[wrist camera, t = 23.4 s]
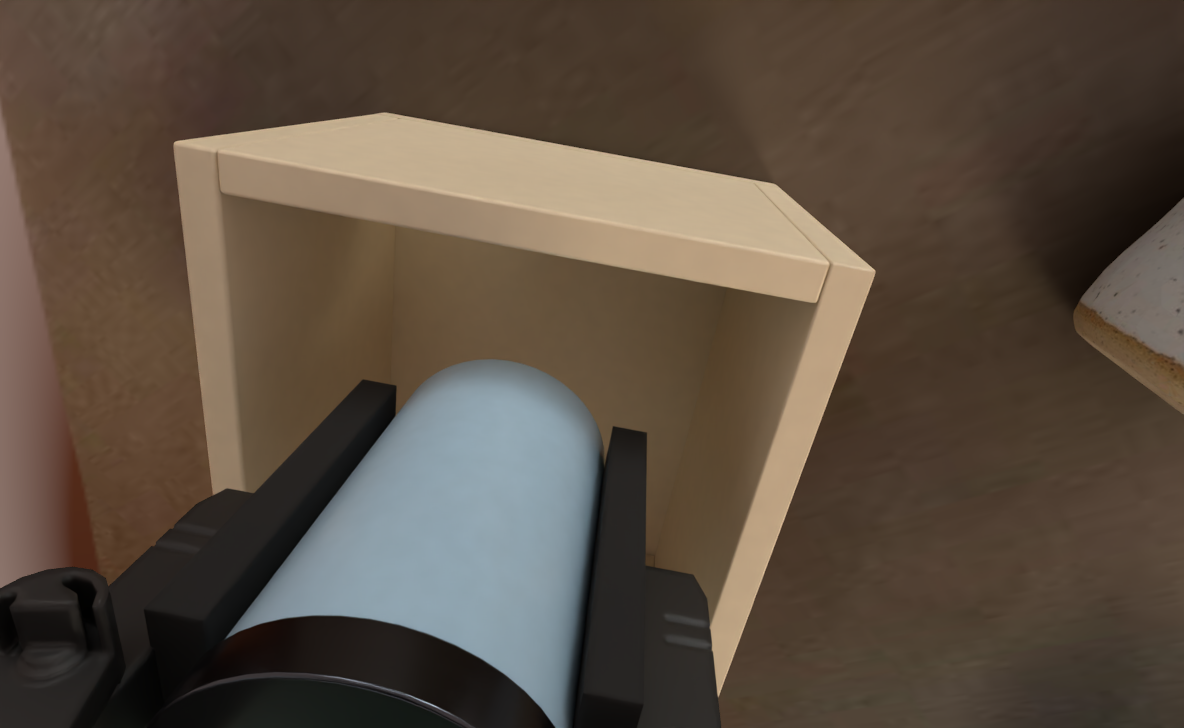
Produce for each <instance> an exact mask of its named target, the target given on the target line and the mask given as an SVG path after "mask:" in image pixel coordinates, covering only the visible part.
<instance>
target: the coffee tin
mask: <svg viewBox="0 0 1184 728" xmlns="http://www.w3.org/2000/svg"><path fill="white" fill-rule="evenodd" d="M604 466H605V452H604V445H603V441H602V436H601V433H600V431H599V428H598V426H597V423H596V421H595V420H594V418H593V416H592V414H591V413H590V411H589V410H588V408H587V407H586V406H585V404H584V403H583V402H582V401H581V400H580V398H579V397H578V396H577V395H576V394H575V393H574V392H573V391H572V390H570V389H569V388H568V387H567V386H565V385H564V384H563V383H562V382H560V381H559V380H557V379H556V378H554V377H552V376H551V375H549V374H547V373H545V372H543V371H541V370H539V369H536V368H534V367H531V366H528V365H525V364H522V363H517V362H513V361H508V360H497V359H483V360H473V361H467V362H462V363H459V364H456V365H452V366H450V367H447V368H445V369H443V370H441V371H439V372H437V373H436V374H434V375H433V376H431V377H429V378H428V379H427V380H426V381H424V382H423V383H422V384H421V385H420V386H419V387H418V388H417V389H416V390H415V392H414V393H413V394H412V395H411V396H410V398H409V399H408V400H407V402H406V403H405V404H404V406H403V407H402V408H401V409H400V411H399V412H398V413H397V415H396V416H395V417H394V419H393V420H392V421H391V423H390V424H389V425H388V426H387V428H386V429H385V430H384V432H383V433H382V434H381V436H380V437H379V438H378V440H377V441H376V442H375V443H374V445H373V446H372V447H371V449H370V450H369V451H368V453H367V454H366V455H365V457H364V458H363V459H362V460H361V462H360V463H359V464H358V466H357V467H356V468H355V470H354V471H353V472H352V473H351V475H350V476H349V477H348V479H347V480H346V481H345V483H344V484H343V485H342V487H341V488H340V489H339V490H338V492H337V493H336V494H335V496H334V497H333V498H332V500H331V501H330V502H329V504H328V505H327V506H326V507H325V509H324V510H323V511H322V513H321V514H320V515H319V517H318V518H317V519H316V521H315V522H314V523H313V524H312V526H311V527H310V528H309V530H308V531H307V532H306V534H305V535H304V536H303V538H302V539H301V540H300V541H299V543H298V544H297V545H296V547H295V548H294V549H293V551H292V552H291V553H290V555H289V556H288V557H287V558H286V560H285V561H284V562H283V564H282V565H281V566H280V568H279V569H278V570H277V571H276V573H275V574H274V575H273V577H272V578H271V579H270V581H269V582H268V583H267V585H266V586H265V587H264V588H263V590H262V591H261V592H260V594H259V595H258V596H257V598H256V599H255V600H254V602H253V603H252V604H251V605H250V607H249V608H248V609H247V611H246V612H245V613H244V615H243V616H242V617H241V619H240V620H239V621H238V622H237V624H236V625H235V626H234V628H233V629H232V630H231V632H230V633H229V634H228V636H227V637H226V638H225V639H224V640H223V641H221V642H219V643H217V644H216V645H215V646H214V647H212V648H211V649H210V650H209V651H207V652H206V653H205V654H204V655H202V657H201V658H200V659H199V660H198V661H197V662H196V664H195V665H194V666H193V667H192V668H191V670H190V671H189V672H188V673H187V675H186V676H185V677H184V678H183V680H182V681H181V682H180V684H179V685H178V686H177V687H176V689H175V690H174V691H173V693H172V694H171V695H170V696H169V698H168V699H167V700H166V701H165V703H164V704H163V705H162V707H161V708H160V709H159V710H158V712H157V713H156V714H155V715H154V717H153V718H152V719H151V721H150V722H149V723H148V724H147V726H146V728H573V722H574V713H575V705H576V697H577V689H578V680H579V672H580V664H581V656H582V647H583V639H584V631H585V623H586V614H587V606H588V598H589V589H590V581H591V573H592V565H593V556H594V548H595V540H596V532H597V523H598V515H599V507H600V499H601V490H602V482H603V474H604Z"/></svg>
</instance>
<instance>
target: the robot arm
mask: <svg viewBox="0 0 1184 728" xmlns="http://www.w3.org/2000/svg"><path fill="white" fill-rule="evenodd" d="M396 391H397V386H396V385H391V384H385V383H380V382H375V381H369V380H364V379H363V380H362V381H361V382H360V383H359V384H358V385H357V386H356V387H355V388H354V389H353V390H352V391H351V392H350V393H349V394H348V395H347V396H346V397H345V398H344V399H343V400H342V402H341V403H340V404H339V405H338V406H337V407H336V408H335V409H334V410H333V411H332V412H331V413H330V414H329V415H328V416H327V417H326V418H325V419H324V420H323V421H322V422H321V423H320V425H319V426H318V427H317V428H316V429H315V430H314V431H313V432H312V433H311V434H310V435H309V436H308V437H307V438H306V439H305V440H304V441H303V442H302V443H301V444H300V445H299V447H298V448H297V449H296V450H295V451H294V452H293V453H292V454H291V455H290V456H289V457H288V458H287V459H286V460H285V461H284V462H283V463H282V464H281V465H280V466H279V467H278V468H277V470H276V471H275V472H274V473H273V474H272V475H271V476H270V477H269V478H268V479H267V480H266V481H265V482H264V483H263V484H262V485H261V486H260V487H259V488H258V489H257V490H256V492H255V493H250V492H244V491H239V490H234V489H229V488H226V489H224V490H222V491H221V492H219V493H217V494H215V495H213V496H211V497H209V498H207V499H205V500H203V501H201V502H199V503H197V504H196V505H195V506H194V507H193V508H192V509H191V510H190V511H188V512H187V513H186V514H185V515H184V516H183V517H182V518H181V519H180V520H179V521H178V522H177V523H176V524H175V526H174V528H173V529H169V530H168V531H167V532H166V533H165V534H164V535H163V536H162V537H161V538H160V539H159V540H158V541H157V542H156V545H155V546H154V547H153V546H151V547H150V548H149V549H148V550H147V551H146V552H145V553H144V554H143V555H142V556H141V557H139V558H138V559H137V560H136V561H135V562H134V563H133V564H132V565H131V566H130V567H129V568H128V569H127V570H126V571H125V572H123V573H122V574H121V575H120V576H119V577H118V578H117V579H116V580H115V581H114V582H113V583H112V584H111V585H110V586H109V587H108V584H107V581H106V578H105V577H103V576H101V575H100V574H98V573H97V572H95V571H94V570H90V569H84V568H77V567H66V568H57V569H48V570H44V571H41V572H38V573H35V574H31V575H28V576H25V577H22V578H20V579H17V580H16V581H14V582H12V583H10V584H8V585H6V586H4V587H2V588H0V728H146V726H147V724H148V723H149V722H150V721H151V719H152V718H153V717H154V715H155V714H156V713H157V712H158V710H159V709H160V708H161V707H162V705H163V704H164V703H165V701H166V700H167V699H168V698H169V696H170V695H171V694H172V693H173V691H174V690H175V689H176V687H177V686H178V685H179V684H180V682H181V681H182V680H183V678H184V677H185V676H186V675H187V673H188V672H189V671H190V670H191V668H192V667H193V666H194V665H195V664H196V662H197V661H198V660H199V659H200V658H201V657H202V655H204V654H205V653H206V652H207V651H209V650H210V649H211V648H212V647H214V646H215V645H216V644H217V643H219V642H221V641H223V640H224V639H225V638H226V637H227V636H228V634H229V633H230V632H231V630H232V629H233V628H234V626H235V625H236V624H237V622H238V621H239V620H240V619H241V617H242V616H243V615H244V613H245V612H246V611H247V609H248V608H249V607H250V605H251V604H252V603H253V602H254V600H255V599H256V598H257V596H258V595H259V594H260V592H261V591H262V590H263V588H264V587H265V586H266V585H267V583H268V582H269V581H270V579H271V578H272V577H273V575H274V574H275V573H276V571H277V570H278V569H279V568H280V566H281V565H282V564H283V562H284V561H285V560H286V558H287V557H288V556H289V555H290V553H291V552H292V551H293V549H294V548H295V547H296V545H297V544H298V543H299V541H300V540H301V539H302V538H303V536H304V535H305V534H306V532H307V531H308V530H309V528H310V527H311V526H312V524H313V523H314V522H315V521H316V519H317V518H318V517H319V515H320V514H321V513H322V511H323V510H324V509H325V507H326V506H327V505H328V504H329V502H330V501H331V500H332V498H333V497H334V496H335V494H336V493H337V492H338V490H339V489H340V488H341V487H342V485H343V484H344V483H345V481H346V480H347V479H348V477H349V476H350V475H351V473H352V472H353V471H354V470H355V468H356V467H357V466H358V464H359V463H360V462H361V460H362V459H363V458H364V457H365V455H366V454H367V453H368V451H369V450H370V449H371V447H372V446H373V445H374V443H375V442H376V441H377V440H378V438H379V437H380V436H381V434H382V433H383V432H384V430H385V429H386V428H387V426H388V425H389V424H390V423H391V421H392V420H393V419H394V417H395V416H396ZM646 478H647V432H642V431H636V430H631V429H626V428H620V427H615V426H613V428H612V433H611V438H610V442H609V447H608V452H607V457H606V462H605V466H604V474H603V482H602V490H601V499H600V507H599V515H598V523H597V532H596V540H595V548H594V556H593V565H592V573H591V581H590V589H589V598H588V606H587V614H586V623H585V631H584V639H583V647H582V656H581V664H580V672H579V680H578V689H577V697H576V705H575V713H574V722H573V728H721V721H720V712H719V703H718V694H717V684H716V675H715V666H714V656H713V651H712V638H711V629H710V619H709V610H708V601H707V597H706V596H705V594H704V592H703V590H702V589H701V587H700V585H699V583H698V582H697V580H696V578H695V576H694V575H693V574H688V573H683V572H677V571H672V570H667V569H661V568H656V567H651V566H646V565H645V561H646Z"/></svg>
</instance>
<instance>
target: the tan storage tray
mask: <svg viewBox="0 0 1184 728" xmlns="http://www.w3.org/2000/svg"><path fill="white" fill-rule="evenodd" d="M173 148H174V156H175V165H176V174H177V183H178V191H179V200H180V209H181V218H182V227H183V235H184V244H185V253H186V262H187V271H188V279H189V288H190V297H191V306H192V314H193V323H194V332H195V341H196V350H197V358H198V367H199V376H200V385H201V393H202V402H203V411H204V420H205V429H206V437H207V446H208V455H209V464H210V472H211V481H212V490H213V495H215V494H217V493H219V492H221V491H222V490H224V489H226V488H229V489H234V490H239V491H244V492H250V493H255V492H256V490H257V489H258V488H259V487H260V486H261V485H262V484H263V483H264V482H265V481H266V480H267V479H268V478H269V477H270V476H271V475H272V474H273V473H274V472H275V471H276V470H277V468H278V467H279V466H280V465H281V464H282V463H283V462H284V461H285V460H286V459H287V458H288V457H289V456H290V455H291V454H292V453H293V452H294V451H295V450H296V449H297V448H298V447H299V445H300V444H301V443H302V442H303V441H304V440H305V439H306V438H307V437H308V436H309V435H310V434H311V433H312V432H313V431H314V430H315V429H316V428H317V427H318V426H319V425H320V423H321V422H322V421H323V420H324V419H325V418H326V417H327V416H328V415H329V414H330V413H331V412H332V411H333V410H334V409H335V408H336V407H337V406H338V405H339V404H340V403H341V402H342V400H343V399H344V398H345V397H346V396H347V395H348V394H349V393H350V392H351V391H352V390H353V389H354V388H355V387H356V386H357V385H358V384H359V383H360V382H361V381H362V380H363V379H364V380H369V381H375V382H380V383H385V384H391V385H396V386H397V391H396V415H397V413H398V412H399V411H400V409H401V408H402V407H403V406H404V404H405V403H406V402H407V400H408V399H409V398H410V396H411V395H412V394H413V393H414V392H415V390H416V389H417V388H418V387H419V386H420V385H421V384H422V383H423V382H424V381H426V380H427V379H428V378H429V377H431V376H433V375H434V374H436V373H437V372H439V371H441V370H443V369H445V368H447V367H450V366H452V365H456V364H459V363H462V362H467V361H473V360H483V359H497V360H508V361H513V362H517V363H522V364H525V365H528V366H531V367H534V368H536V369H539V370H541V371H543V372H545V373H547V374H549V375H551V376H552V377H554V378H556V379H557V380H559V381H560V382H562V383H563V384H564V385H565V386H567V387H568V388H569V389H570V390H572V391H573V392H574V393H575V394H576V395H577V396H578V397H579V398H580V400H581V401H582V402H583V403H584V404H585V406H586V407H587V408H588V410H589V411H590V413H591V414H592V416H593V418H594V420H595V421H596V423H597V426H598V428H599V431H600V433H601V436H602V441H603V445H604V452H605V462H606V457H607V452H608V447H609V442H610V438H611V433H612V428H613V426H615V427H620V428H626V429H631V430H636V431H642V432H647V478H646V561H645V565H646V566H651V567H656V568H661V569H667V570H672V571H677V572H683V573H688V574H693V575H694V576H695V578H696V580H697V582H698V583H699V585H700V587H701V589H702V590H703V592H704V594H705V596H706V597H707V601H708V610H709V619H710V629H711V638H712V651H713V656H714V666H715V675H716V684H717V694H718V697H719V694H720V691H721V689H722V686H723V683H724V680H725V678H726V675H727V672H728V670H729V667H730V664H731V662H732V659H733V656H734V653H735V651H736V648H737V645H738V643H739V640H740V637H741V635H742V632H743V629H744V626H745V624H746V621H747V618H748V616H749V613H750V610H751V608H752V605H753V602H754V599H755V597H756V594H757V591H758V589H759V586H760V583H761V581H762V578H763V575H764V573H765V570H766V567H767V564H768V562H769V559H770V556H771V554H772V551H773V548H774V546H775V543H776V540H777V537H778V535H779V532H780V529H781V527H782V524H783V521H784V519H785V516H786V513H787V510H788V508H789V505H790V502H791V500H792V497H793V494H794V492H795V489H796V486H797V483H798V481H799V478H800V475H801V473H802V470H803V467H804V465H805V462H806V459H807V457H808V454H809V451H810V448H811V446H812V443H813V440H814V438H815V435H816V432H817V430H818V427H819V424H820V421H821V419H822V416H823V413H824V411H825V408H826V405H827V403H828V400H829V397H830V394H831V392H832V389H833V386H834V384H835V381H836V378H837V376H838V373H839V370H840V367H841V365H842V362H843V359H844V357H845V354H846V351H847V349H848V346H849V343H850V341H851V338H852V335H853V332H854V330H855V327H856V324H857V322H858V319H859V316H860V314H861V311H862V308H863V305H864V303H865V300H866V297H867V295H868V292H869V289H870V287H871V284H872V281H873V278H874V276H875V270H874V269H873V268H872V267H870V266H869V265H868V264H867V263H866V262H865V261H863V260H862V259H861V258H860V257H859V256H858V255H857V254H855V253H854V252H853V251H852V250H851V249H850V248H848V247H847V246H846V245H845V244H844V243H843V242H842V241H840V240H839V239H838V238H837V237H836V236H835V235H833V234H832V233H831V232H830V231H829V230H828V229H827V228H825V227H824V226H823V225H822V224H821V223H820V222H818V221H817V220H816V219H815V218H814V217H813V216H811V215H810V214H809V213H808V212H807V211H806V210H805V209H803V208H802V207H801V206H800V205H799V204H798V203H796V202H795V201H794V200H793V199H792V198H791V197H790V196H788V195H787V194H786V193H785V192H784V191H783V190H781V189H780V188H779V187H778V186H777V185H775V184H772V183H767V182H761V181H756V180H751V179H745V178H740V177H734V176H729V175H723V174H718V173H712V172H707V171H702V170H696V169H691V168H685V167H680V166H674V165H669V164H663V163H658V162H653V161H647V160H642V159H636V158H631V157H625V156H620V155H615V154H609V153H604V152H598V151H593V150H587V149H582V148H576V147H571V146H566V145H560V144H555V143H549V142H544V141H538V140H533V139H527V138H522V137H517V136H511V135H506V134H500V133H495V132H489V131H484V130H478V129H473V128H468V127H462V126H457V125H451V124H446V123H440V122H435V121H430V120H424V119H419V118H413V117H408V116H402V115H397V114H391V113H386V112H385V113H377V114H373V115H365V116H358V117H350V118H343V119H336V120H328V121H321V122H314V123H306V124H299V125H291V126H284V127H277V128H269V129H262V130H254V131H247V132H240V133H232V134H225V135H218V136H210V137H203V138H195V139H188V140H181V141H176V142H174V145H173Z"/></svg>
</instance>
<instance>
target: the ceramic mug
mask: <svg viewBox="0 0 1184 728" xmlns="http://www.w3.org/2000/svg"><path fill="white" fill-rule="evenodd" d="M1073 322H1074V326H1075V330H1076V332H1077V333H1078V334H1079V335H1080V336H1081V337H1082V338H1084V339H1085V340H1086V341H1087V342H1088V343H1090V344H1091V345H1092V346H1093V347H1094V348H1096V349H1097V350H1098V351H1100V352H1101V353H1102V354H1104V355H1105V356H1106V357H1108V358H1109V359H1110V360H1112V361H1113V362H1114V363H1116V364H1117V365H1118V366H1119V367H1121V368H1122V369H1123V370H1125V371H1126V372H1127V373H1129V374H1130V375H1131V376H1132V377H1134V378H1135V379H1136V380H1138V381H1139V382H1140V383H1142V384H1143V385H1144V386H1146V387H1147V388H1149V389H1150V390H1151V391H1153V392H1154V393H1155V394H1157V395H1158V396H1159V397H1161V398H1162V399H1163V400H1165V401H1166V402H1167V403H1168V404H1170V405H1171V406H1172V407H1174V408H1175V409H1177V410H1178V411H1180V412H1181V413H1182V414H1184V198H1183V199H1182V200H1181V201H1180V202H1179V203H1178V204H1177V205H1176V206H1174V207H1173V208H1172V209H1171V210H1170V211H1169V212H1168V213H1167V214H1166V215H1165V216H1164V217H1163V218H1162V219H1161V220H1160V221H1158V222H1157V223H1156V224H1155V225H1154V226H1153V227H1152V228H1151V229H1150V230H1148V231H1147V232H1146V233H1145V234H1144V235H1143V236H1141V237H1140V238H1139V239H1138V240H1137V241H1136V242H1134V243H1133V244H1132V245H1131V246H1130V247H1128V248H1127V249H1126V250H1125V251H1124V252H1123V253H1122V254H1121V255H1120V256H1119V257H1117V258H1116V259H1115V260H1114V261H1113V262H1112V263H1111V264H1110V265H1109V266H1108V267H1107V268H1106V269H1105V270H1104V271H1103V272H1102V273H1101V275H1100V276H1099V277H1098V278H1097V280H1096V281H1095V282H1094V283H1093V284H1092V285H1091V287H1090V288H1089V289H1088V290H1087V291H1086V292H1085V294H1084V295H1083V296H1082V298H1081V299H1080V301H1079V303H1078V305H1077V307H1076V308H1075V310H1074V315H1073Z"/></svg>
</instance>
